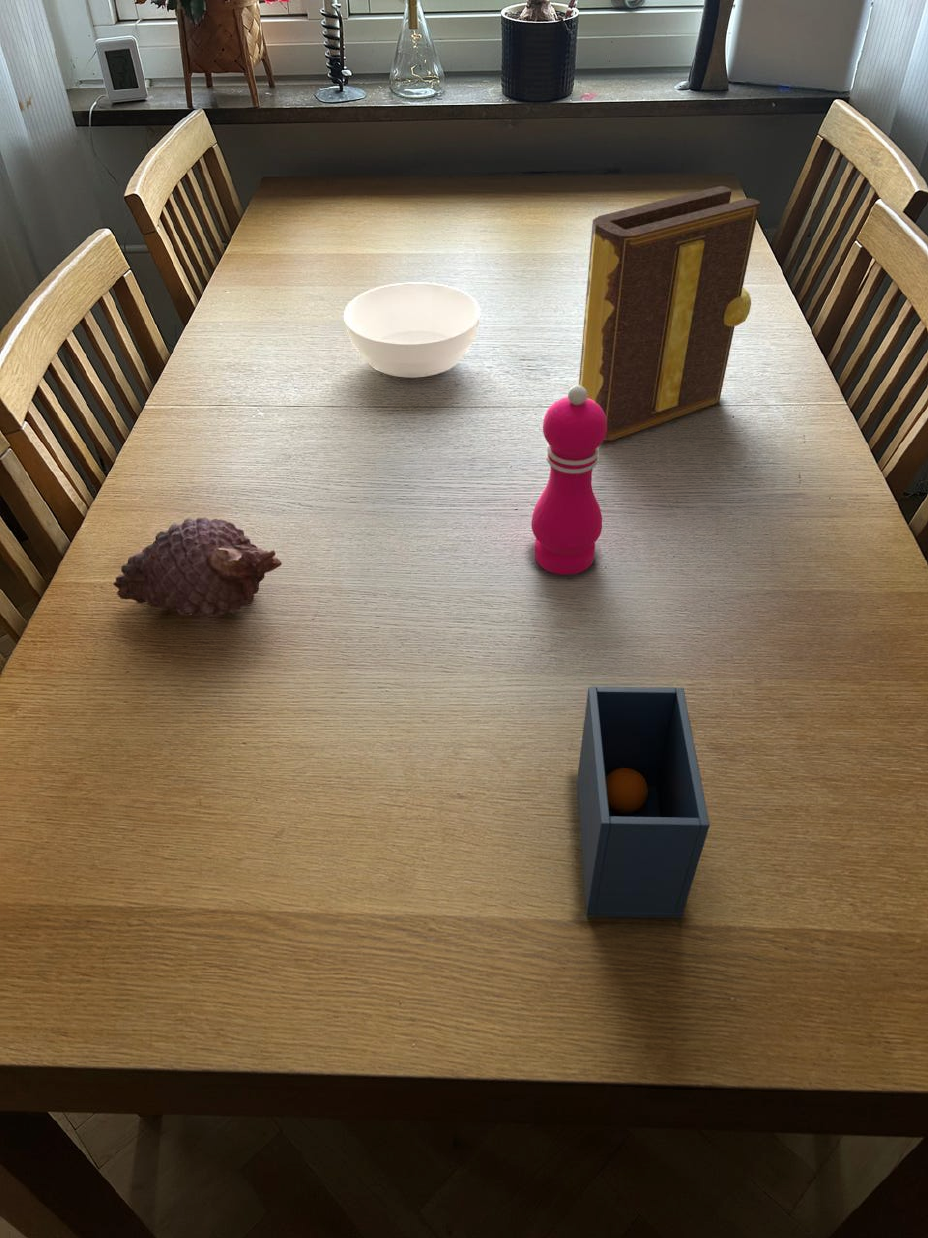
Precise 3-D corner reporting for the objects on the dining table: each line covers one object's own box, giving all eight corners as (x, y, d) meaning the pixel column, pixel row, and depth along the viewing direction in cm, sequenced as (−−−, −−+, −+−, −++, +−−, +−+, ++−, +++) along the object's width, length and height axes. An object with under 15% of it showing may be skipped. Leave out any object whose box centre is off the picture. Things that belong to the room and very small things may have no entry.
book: (604, 449, 112) (628, 242, 95) (564, 417, 118) (579, 215, 100) (742, 400, 120) (786, 200, 103) (698, 372, 126) (734, 177, 108)
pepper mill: (583, 529, 101) (600, 362, 87) (608, 571, 96) (631, 400, 82) (520, 541, 100) (527, 373, 86) (542, 584, 95) (554, 413, 81)
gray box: (661, 784, 77) (683, 687, 68) (681, 918, 68) (710, 825, 60) (576, 782, 77) (588, 685, 69) (586, 916, 68) (601, 823, 60)
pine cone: (107, 646, 89) (75, 545, 87) (158, 620, 98) (130, 529, 96) (276, 614, 85) (247, 507, 83) (312, 591, 94) (287, 494, 92)
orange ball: (654, 808, 74) (658, 770, 73) (630, 829, 72) (634, 791, 70) (616, 790, 77) (620, 753, 75) (591, 810, 74) (594, 772, 73)
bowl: (327, 384, 124) (321, 333, 119) (376, 323, 137) (372, 275, 132) (458, 404, 120) (457, 352, 115) (496, 339, 133) (496, 290, 128)
